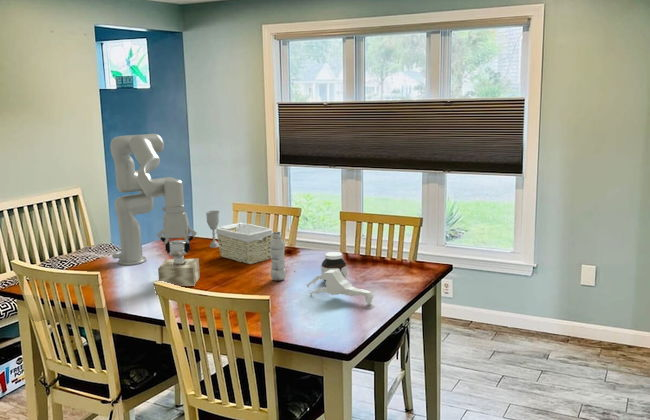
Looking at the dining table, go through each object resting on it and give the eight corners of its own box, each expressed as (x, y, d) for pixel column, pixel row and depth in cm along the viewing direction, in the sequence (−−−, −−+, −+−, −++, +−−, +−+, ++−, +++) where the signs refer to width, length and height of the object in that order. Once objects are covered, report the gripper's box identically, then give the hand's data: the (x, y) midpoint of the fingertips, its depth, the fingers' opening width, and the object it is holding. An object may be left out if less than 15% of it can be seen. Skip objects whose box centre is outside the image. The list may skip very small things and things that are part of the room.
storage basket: (275, 258, 288) (274, 228, 285) (249, 266, 276) (247, 234, 273) (242, 250, 304) (241, 221, 301) (216, 257, 292) (214, 227, 289)
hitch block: (159, 287, 248) (158, 268, 246) (166, 277, 261) (165, 259, 260) (194, 286, 248) (193, 267, 247) (199, 276, 262) (198, 258, 260)
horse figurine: (318, 319, 233) (372, 305, 219) (304, 279, 233) (356, 262, 219) (325, 315, 237) (378, 301, 223) (311, 275, 238) (363, 259, 223)
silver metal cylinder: (169, 273, 250) (167, 244, 248) (172, 268, 257) (170, 240, 255) (186, 272, 250) (184, 243, 248) (189, 267, 257) (187, 239, 255)
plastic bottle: (289, 278, 256) (287, 231, 253) (282, 282, 250) (280, 235, 246) (274, 277, 258) (272, 230, 255) (268, 281, 252) (266, 234, 248)
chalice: (224, 245, 315) (222, 211, 312) (216, 248, 309) (214, 213, 306) (212, 244, 318) (210, 210, 315) (204, 247, 312) (202, 212, 309)
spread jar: (327, 286, 244) (327, 258, 242) (315, 279, 254) (314, 251, 252) (353, 281, 250) (353, 253, 248) (340, 274, 260) (339, 247, 258)
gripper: (151, 212, 245) (154, 255, 248) (195, 210, 246) (198, 253, 249) (155, 209, 252) (159, 250, 256) (198, 207, 253) (200, 249, 256)
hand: (178, 251), depth 252 cm, fingers closed on silver metal cylinder, 7 cm apart
